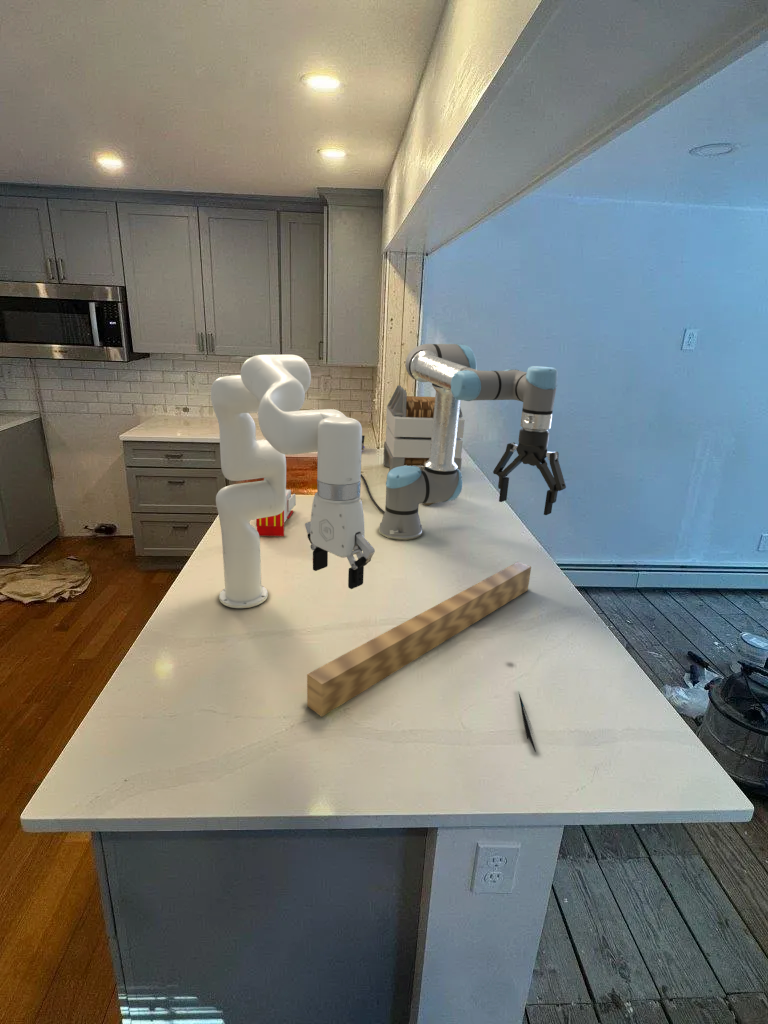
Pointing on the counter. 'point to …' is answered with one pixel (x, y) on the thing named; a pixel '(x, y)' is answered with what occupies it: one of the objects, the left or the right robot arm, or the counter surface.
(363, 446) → the figurine character
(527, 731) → the feather
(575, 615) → the counter surface
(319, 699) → the post
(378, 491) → the counter surface
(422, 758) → the counter surface
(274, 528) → the toy
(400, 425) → the white storage crate
